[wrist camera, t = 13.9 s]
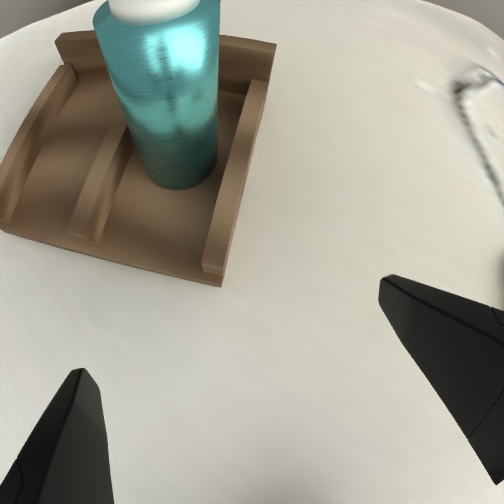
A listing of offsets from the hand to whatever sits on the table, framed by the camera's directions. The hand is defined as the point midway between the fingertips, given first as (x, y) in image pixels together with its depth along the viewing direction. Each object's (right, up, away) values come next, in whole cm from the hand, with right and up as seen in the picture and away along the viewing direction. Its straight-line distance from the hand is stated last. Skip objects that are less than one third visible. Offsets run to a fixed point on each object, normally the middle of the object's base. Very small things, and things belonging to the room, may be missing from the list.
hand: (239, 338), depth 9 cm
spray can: (-5, +9, +13) cm, 16 cm away
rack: (-9, +9, +14) cm, 19 cm away
